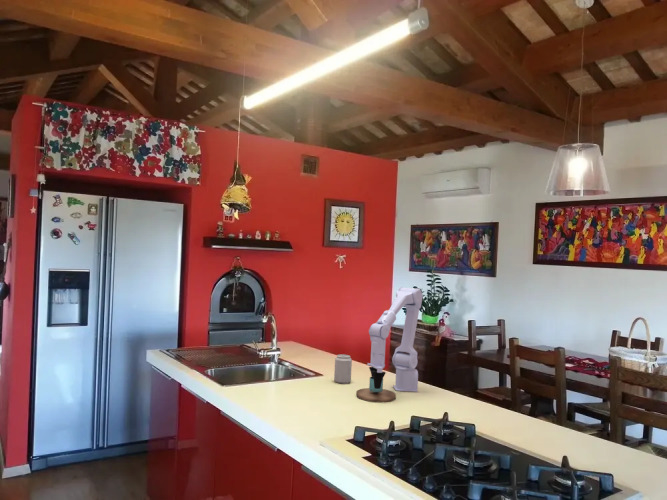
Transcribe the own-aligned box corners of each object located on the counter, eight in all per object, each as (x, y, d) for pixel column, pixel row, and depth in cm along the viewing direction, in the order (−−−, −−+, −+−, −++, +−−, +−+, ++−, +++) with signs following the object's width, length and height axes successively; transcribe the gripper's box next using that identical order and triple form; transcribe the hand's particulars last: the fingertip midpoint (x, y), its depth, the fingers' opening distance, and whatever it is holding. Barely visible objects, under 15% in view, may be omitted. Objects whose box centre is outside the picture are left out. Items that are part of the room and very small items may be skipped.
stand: (392, 392, 226) (392, 378, 226) (398, 403, 210) (399, 387, 210) (354, 391, 225) (355, 376, 225) (358, 401, 209) (359, 386, 209)
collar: (381, 388, 221) (382, 376, 221) (383, 392, 215) (383, 379, 215) (368, 388, 220) (369, 376, 220) (370, 391, 215) (370, 379, 215)
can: (344, 385, 235) (345, 357, 235) (330, 381, 239) (332, 355, 240) (354, 382, 241) (355, 355, 241) (340, 379, 245) (341, 353, 245)
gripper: (366, 349, 225) (364, 381, 225) (370, 356, 210) (368, 390, 210) (382, 350, 225) (381, 382, 225) (388, 357, 211) (386, 391, 211)
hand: (376, 386), depth 218 cm, fingers closed on collar, 5 cm apart
